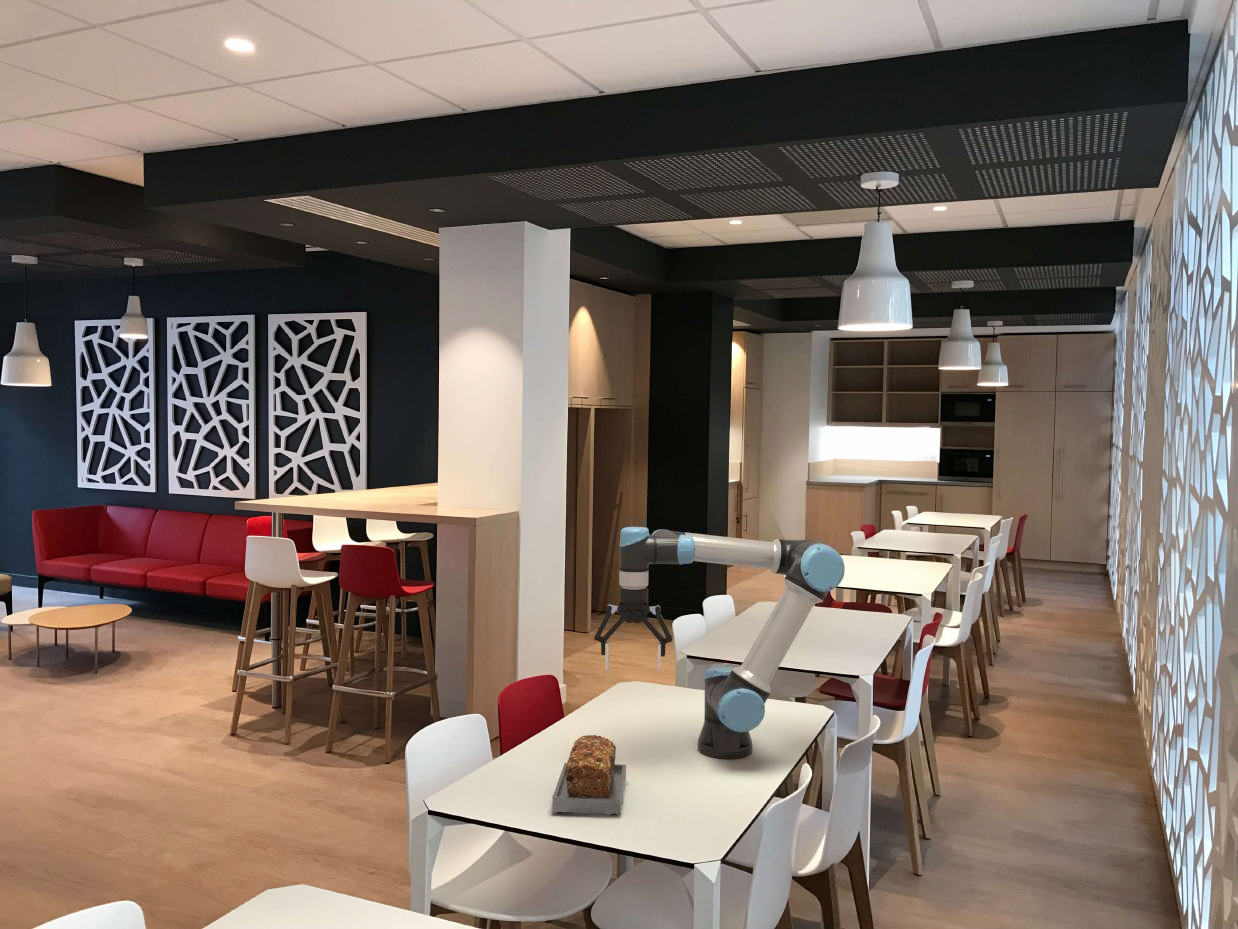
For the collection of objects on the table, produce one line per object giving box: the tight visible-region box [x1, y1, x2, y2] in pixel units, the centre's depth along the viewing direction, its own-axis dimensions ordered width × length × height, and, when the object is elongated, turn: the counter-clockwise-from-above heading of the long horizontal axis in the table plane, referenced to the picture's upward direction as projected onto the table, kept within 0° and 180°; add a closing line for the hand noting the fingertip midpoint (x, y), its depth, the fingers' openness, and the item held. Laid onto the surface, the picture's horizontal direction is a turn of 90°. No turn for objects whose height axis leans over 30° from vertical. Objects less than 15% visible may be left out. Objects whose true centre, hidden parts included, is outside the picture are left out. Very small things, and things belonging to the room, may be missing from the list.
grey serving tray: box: [551, 762, 627, 816], centre depth 231 cm, size 16×24×4 cm, turn 176°
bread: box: [566, 734, 617, 798], centre depth 230 cm, size 19×11×10 cm, turn 175°
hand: (633, 668), depth 249 cm, fingers open, 13 cm apart
